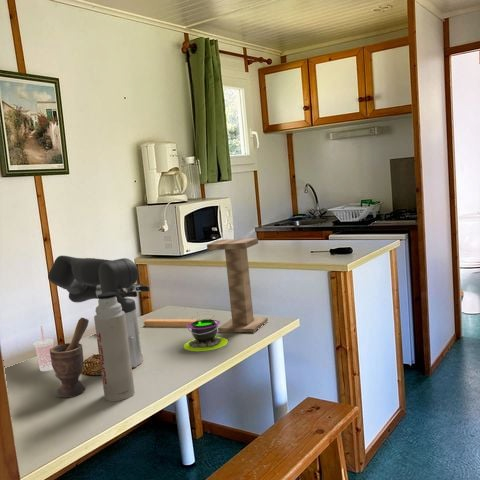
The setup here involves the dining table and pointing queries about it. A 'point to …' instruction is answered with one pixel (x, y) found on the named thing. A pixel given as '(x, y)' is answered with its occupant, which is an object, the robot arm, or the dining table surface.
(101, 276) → the robot arm
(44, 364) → the beverage cup
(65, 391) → the mortar and pestle
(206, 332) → the toy cauldron
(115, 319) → the thermos bottle
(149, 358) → the dining table surface
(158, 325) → the handle bar
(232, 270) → the shelf stand
